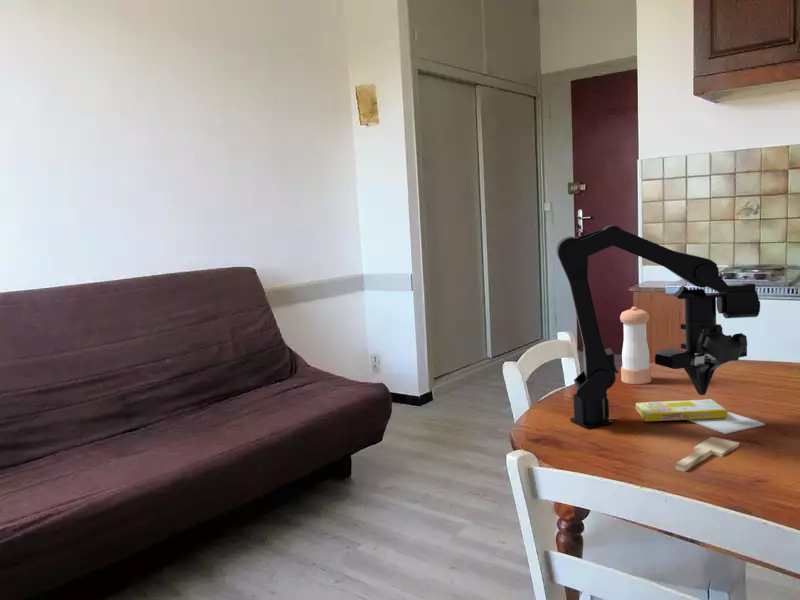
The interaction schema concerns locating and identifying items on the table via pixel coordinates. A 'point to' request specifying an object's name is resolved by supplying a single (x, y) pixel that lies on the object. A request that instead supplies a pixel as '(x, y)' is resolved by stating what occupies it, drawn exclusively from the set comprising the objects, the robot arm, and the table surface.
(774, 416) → the table surface
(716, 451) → the wooden turner
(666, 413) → the candy box
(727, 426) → the felt mat
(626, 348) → the pepper shaker
